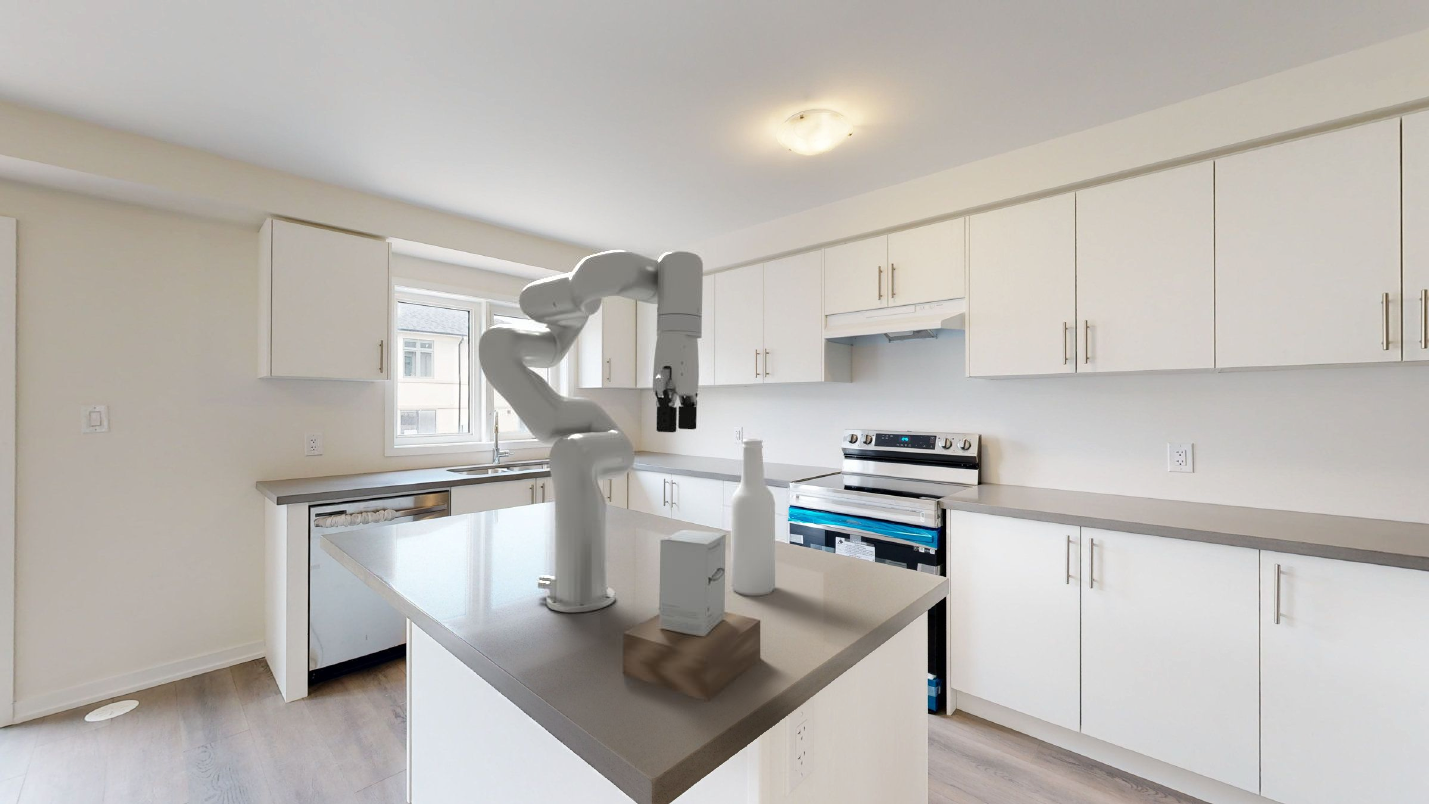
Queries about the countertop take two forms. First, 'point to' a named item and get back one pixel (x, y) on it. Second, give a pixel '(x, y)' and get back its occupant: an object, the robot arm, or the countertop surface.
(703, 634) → the supplement box
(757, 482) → the white bottle
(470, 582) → the countertop surface
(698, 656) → the walnut block
